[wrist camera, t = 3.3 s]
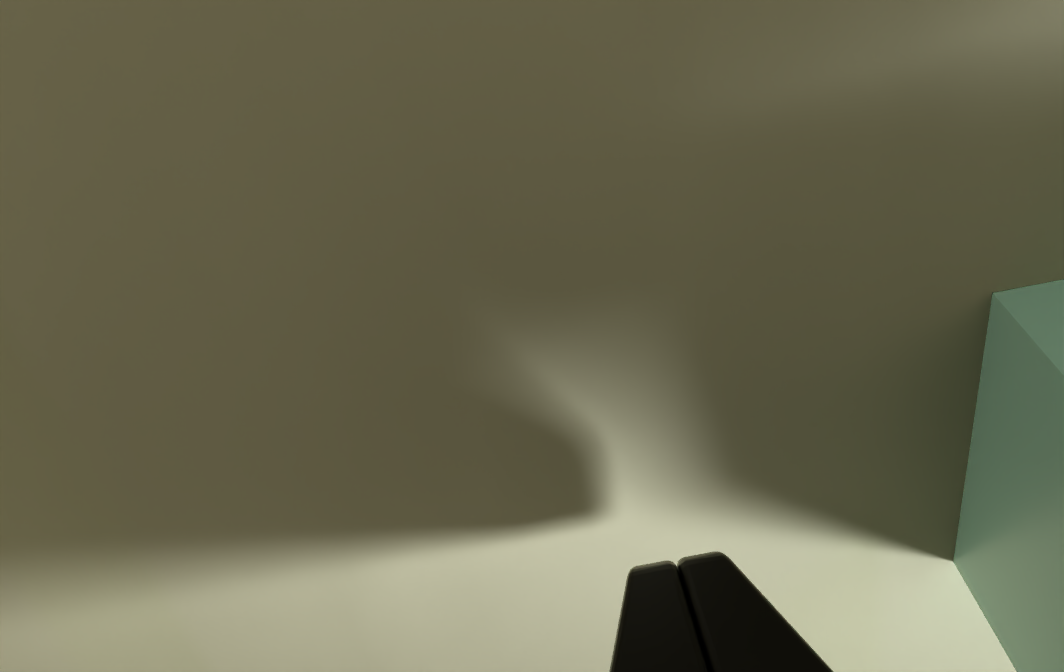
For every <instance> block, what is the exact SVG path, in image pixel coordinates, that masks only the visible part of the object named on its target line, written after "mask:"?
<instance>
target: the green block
mask: <svg viewBox="0 0 1064 672" xmlns="http://www.w3.org/2000/svg"><path fill="white" fill-rule="evenodd" d="M953 562H954V564H955V565H956V567H957V569H958V570H959V572H960V574H961V576H962V577H963V579H964V581H965V583H966V584H967V586H968V588H969V590H970V591H971V593H972V595H973V596H974V598H975V600H976V602H977V603H978V605H979V607H980V609H981V610H982V612H983V614H984V616H985V617H986V619H987V621H988V622H989V624H990V626H991V628H992V629H993V631H994V633H995V635H996V636H997V638H998V640H999V642H1000V643H1001V645H1002V647H1003V648H1004V650H1005V652H1006V654H1007V655H1008V657H1009V659H1010V661H1011V662H1012V664H1013V666H1014V668H1015V669H1016V671H1017V672H1064V279H1063V280H1058V281H1052V282H1047V283H1042V284H1037V285H1032V286H1026V287H1021V288H1016V289H1011V290H1005V291H1000V292H995V293H992V300H991V307H990V314H989V321H988V327H987V334H986V341H985V348H984V355H983V362H982V368H981V375H980V382H979V389H978V396H977V402H976V409H975V416H974V423H973V430H972V437H971V443H970V450H969V457H968V464H967V471H966V478H965V484H964V491H963V498H962V505H961V512H960V519H959V525H958V532H957V539H956V546H955V553H954V559H953Z"/></svg>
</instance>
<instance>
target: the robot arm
mask: <svg viewBox="0 0 1064 672" xmlns="http://www.w3.org/2000/svg"><path fill="white" fill-rule="evenodd" d="M610 672H833V671H832V670H831V668H830V667H829V666H828V665H827V664H826V663H825V662H824V661H823V660H822V659H821V658H820V656H819V655H818V654H817V653H816V652H815V651H814V650H813V649H812V648H811V647H810V646H809V644H808V643H807V642H806V641H805V640H804V639H803V638H802V637H801V636H800V635H799V634H798V632H797V631H796V630H795V629H794V628H793V627H792V626H791V625H790V624H789V623H788V622H787V620H786V619H785V618H784V617H783V616H782V615H781V614H780V613H779V612H778V611H777V610H776V608H775V607H774V606H773V605H772V604H771V603H770V602H769V601H768V600H767V599H766V598H765V596H764V595H763V594H762V593H761V592H760V591H759V590H758V589H757V588H756V587H755V586H754V584H753V583H752V582H751V581H750V580H749V579H748V578H747V577H746V576H745V575H744V574H743V572H742V571H741V570H740V569H739V568H738V567H737V566H736V565H735V564H734V563H733V562H732V560H731V559H730V558H729V557H727V556H726V555H725V554H723V553H721V552H710V553H704V554H699V555H694V556H688V557H684V558H682V559H680V560H679V561H678V563H677V566H676V565H675V564H674V563H673V562H671V561H661V562H656V563H651V564H645V565H640V566H635V567H633V568H632V569H631V570H630V572H629V573H628V576H627V581H626V586H625V592H624V597H623V603H622V608H621V613H620V619H619V624H618V629H617V635H616V640H615V645H614V651H613V656H612V662H611V667H610Z"/></svg>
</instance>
